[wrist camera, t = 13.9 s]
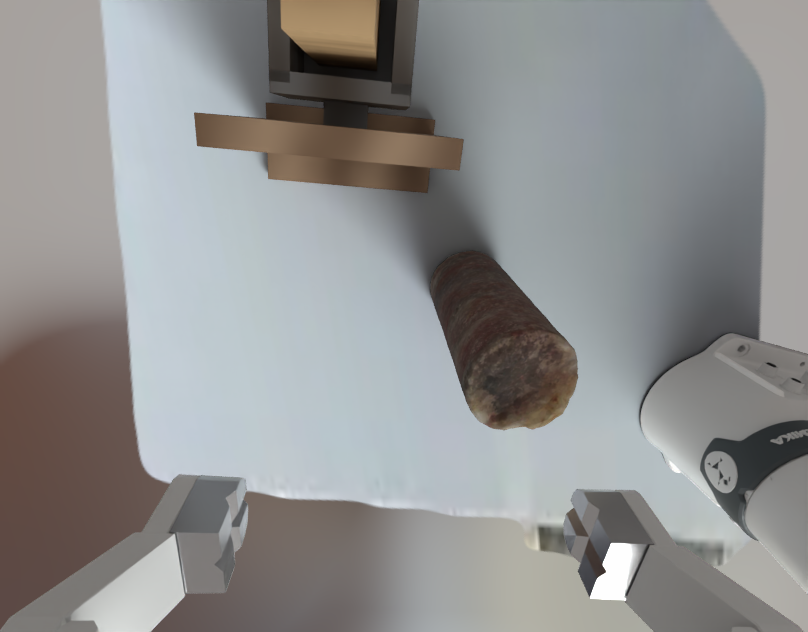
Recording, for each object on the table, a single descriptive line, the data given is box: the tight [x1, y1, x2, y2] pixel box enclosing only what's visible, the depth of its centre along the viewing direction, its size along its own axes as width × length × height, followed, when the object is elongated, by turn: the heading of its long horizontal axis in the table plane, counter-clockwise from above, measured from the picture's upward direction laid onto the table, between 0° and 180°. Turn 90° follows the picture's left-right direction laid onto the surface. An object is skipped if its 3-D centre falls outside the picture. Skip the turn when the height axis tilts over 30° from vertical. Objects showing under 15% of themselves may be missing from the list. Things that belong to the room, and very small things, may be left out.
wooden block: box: [281, 0, 381, 71], centre depth 24 cm, size 4×4×12 cm
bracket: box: [194, 0, 464, 193], centre depth 29 cm, size 14×15×16 cm
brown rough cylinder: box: [430, 251, 578, 430], centre depth 35 cm, size 8×7×20 cm
